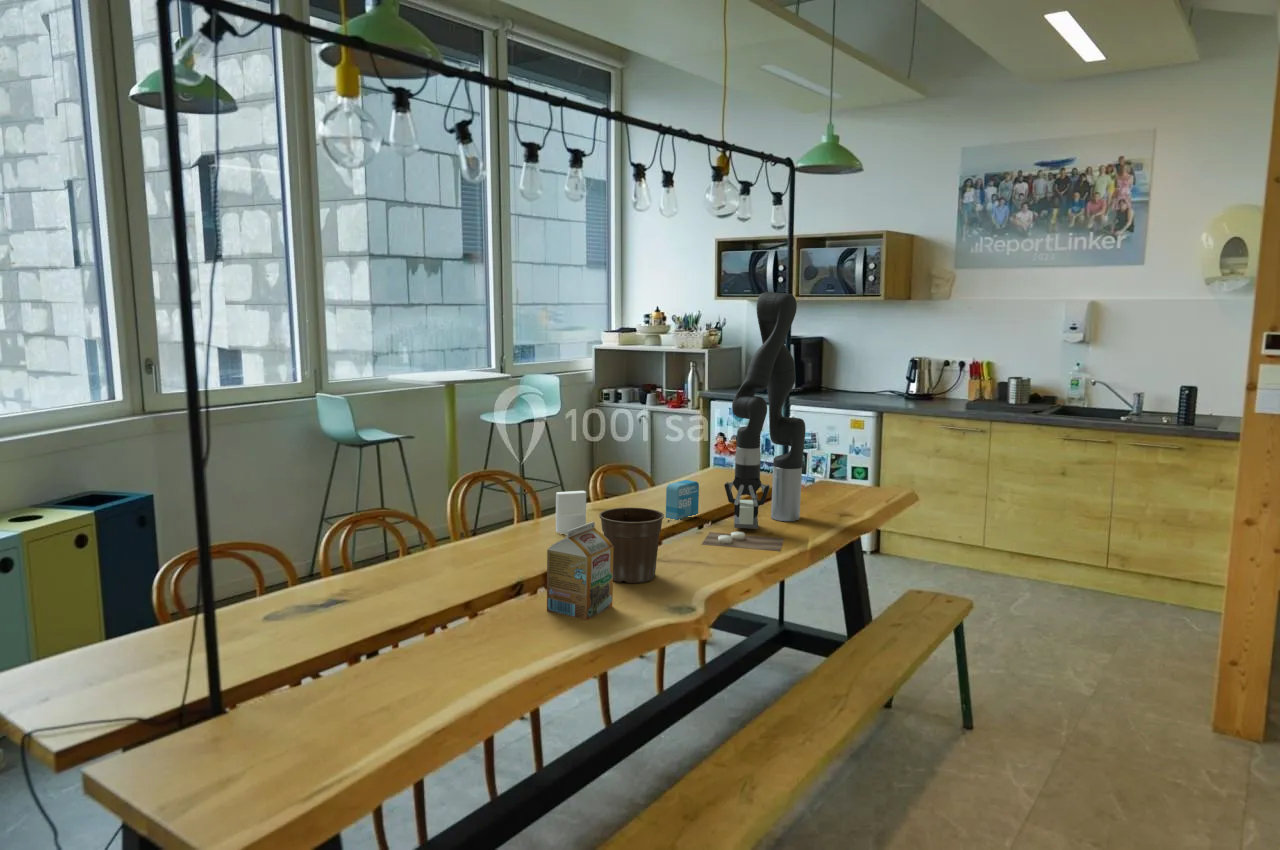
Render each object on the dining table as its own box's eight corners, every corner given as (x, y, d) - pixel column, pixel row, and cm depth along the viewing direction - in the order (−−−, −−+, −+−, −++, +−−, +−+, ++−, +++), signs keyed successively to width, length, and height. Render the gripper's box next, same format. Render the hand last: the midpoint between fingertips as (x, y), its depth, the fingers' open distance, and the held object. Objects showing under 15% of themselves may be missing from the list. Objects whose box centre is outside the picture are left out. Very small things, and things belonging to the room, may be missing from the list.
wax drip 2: (731, 536, 253) (731, 531, 252) (745, 537, 252) (745, 531, 252) (730, 539, 249) (730, 534, 248) (744, 540, 248) (744, 535, 248)
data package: (676, 523, 272) (677, 486, 270) (665, 521, 275) (666, 484, 273) (698, 517, 281) (699, 481, 280) (687, 514, 284) (688, 479, 282)
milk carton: (573, 597, 201) (575, 518, 198) (612, 606, 196) (613, 524, 193) (546, 611, 192) (547, 527, 189) (586, 620, 187) (587, 534, 184)
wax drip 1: (719, 539, 249) (719, 534, 248) (732, 540, 248) (733, 535, 247) (716, 543, 245) (717, 538, 244) (731, 544, 244) (731, 539, 244)
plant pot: (585, 573, 219) (586, 511, 217) (636, 563, 229) (637, 504, 227) (623, 591, 206) (624, 525, 204) (675, 579, 216) (677, 516, 214)
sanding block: (734, 518, 267) (734, 499, 266) (757, 519, 266) (757, 500, 265) (734, 527, 257) (734, 507, 256) (758, 528, 256) (758, 508, 255)
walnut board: (709, 537, 257) (709, 532, 257) (783, 543, 252) (784, 538, 252) (701, 549, 243) (701, 544, 243) (780, 556, 238) (780, 551, 238)
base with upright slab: (560, 536, 254) (561, 496, 252) (552, 529, 262) (552, 490, 261) (589, 534, 257) (590, 494, 256) (580, 526, 266) (580, 488, 264)
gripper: (773, 460, 260) (771, 515, 263) (726, 457, 264) (724, 512, 267) (770, 465, 253) (768, 522, 256) (722, 462, 257) (720, 518, 259)
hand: (746, 516), depth 261 cm, fingers closed on sanding block, 4 cm apart
